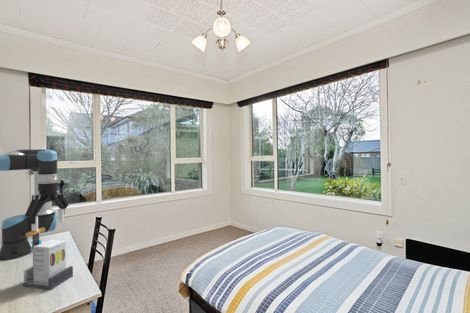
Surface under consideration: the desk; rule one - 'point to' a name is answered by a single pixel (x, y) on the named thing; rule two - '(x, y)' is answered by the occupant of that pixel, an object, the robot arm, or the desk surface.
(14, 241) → the robot arm
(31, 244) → the tablet
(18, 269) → the desk surface
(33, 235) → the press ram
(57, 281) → the press bed
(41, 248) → the supplement box
